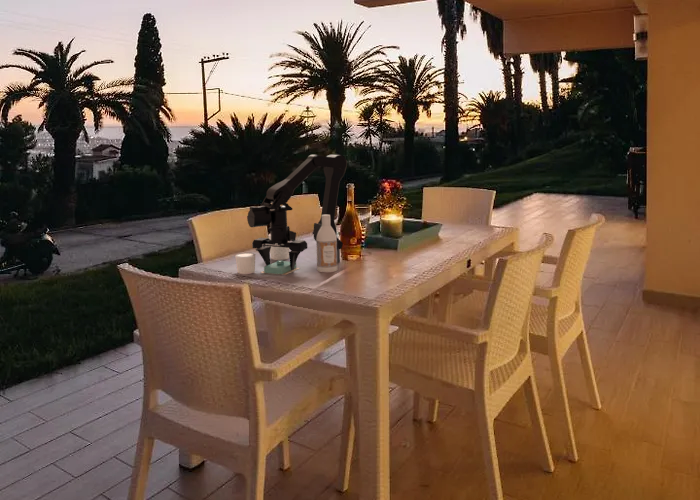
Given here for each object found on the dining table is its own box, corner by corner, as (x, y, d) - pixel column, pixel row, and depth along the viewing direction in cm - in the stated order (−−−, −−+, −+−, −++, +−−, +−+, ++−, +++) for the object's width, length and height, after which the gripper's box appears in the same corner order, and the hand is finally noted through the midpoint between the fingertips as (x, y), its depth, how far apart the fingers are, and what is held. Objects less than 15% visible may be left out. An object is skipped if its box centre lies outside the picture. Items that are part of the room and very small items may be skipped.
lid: (296, 267, 210) (296, 258, 210) (282, 274, 202) (281, 265, 201) (279, 266, 213) (278, 257, 213) (264, 272, 204) (263, 263, 204)
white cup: (286, 263, 222) (285, 236, 220) (266, 262, 224) (265, 236, 222) (293, 258, 230) (292, 232, 228) (273, 257, 231) (272, 232, 229)
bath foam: (319, 275, 203) (317, 217, 199) (315, 270, 210) (313, 214, 205) (339, 274, 205) (338, 215, 200) (335, 269, 211) (333, 213, 207)
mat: (300, 270, 210) (300, 268, 210) (286, 277, 201) (286, 274, 201) (275, 268, 214) (275, 265, 214) (260, 275, 205) (260, 272, 205)
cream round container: (260, 273, 208) (259, 253, 206) (249, 278, 202) (248, 257, 200) (243, 271, 211) (242, 252, 209) (232, 276, 204) (231, 256, 203)
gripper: (314, 221, 208) (315, 265, 211) (267, 219, 215) (269, 261, 218) (298, 227, 198) (300, 273, 201) (250, 224, 205) (252, 268, 208)
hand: (280, 268), depth 207 cm, fingers open, 9 cm apart
